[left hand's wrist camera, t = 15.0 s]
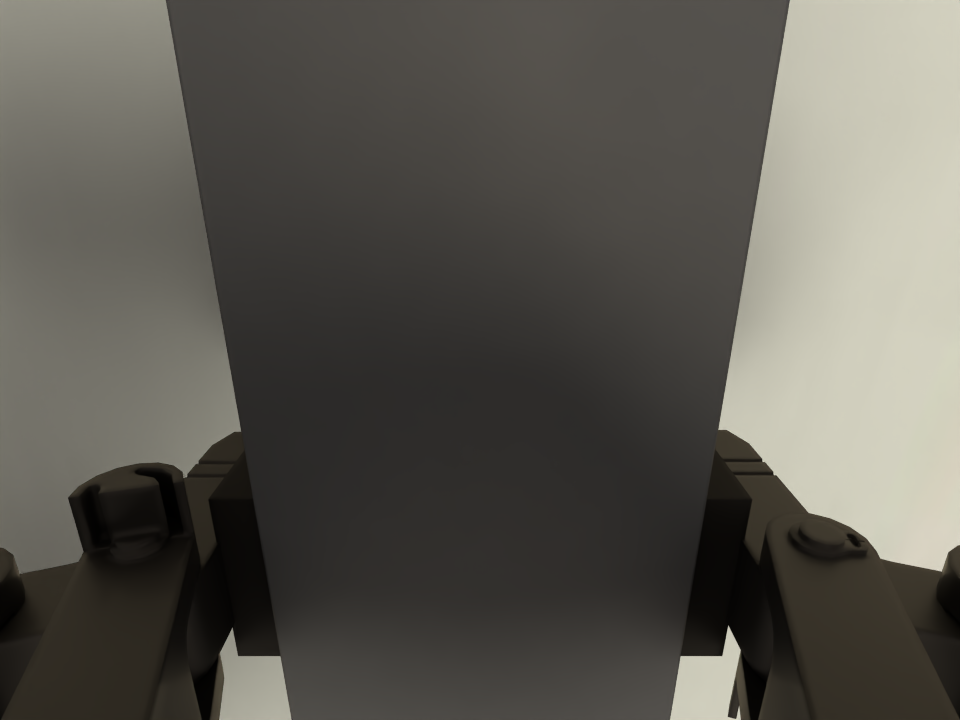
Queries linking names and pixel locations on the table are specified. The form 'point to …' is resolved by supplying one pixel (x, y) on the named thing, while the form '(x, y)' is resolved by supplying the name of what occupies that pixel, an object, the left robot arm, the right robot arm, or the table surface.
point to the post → (479, 330)
